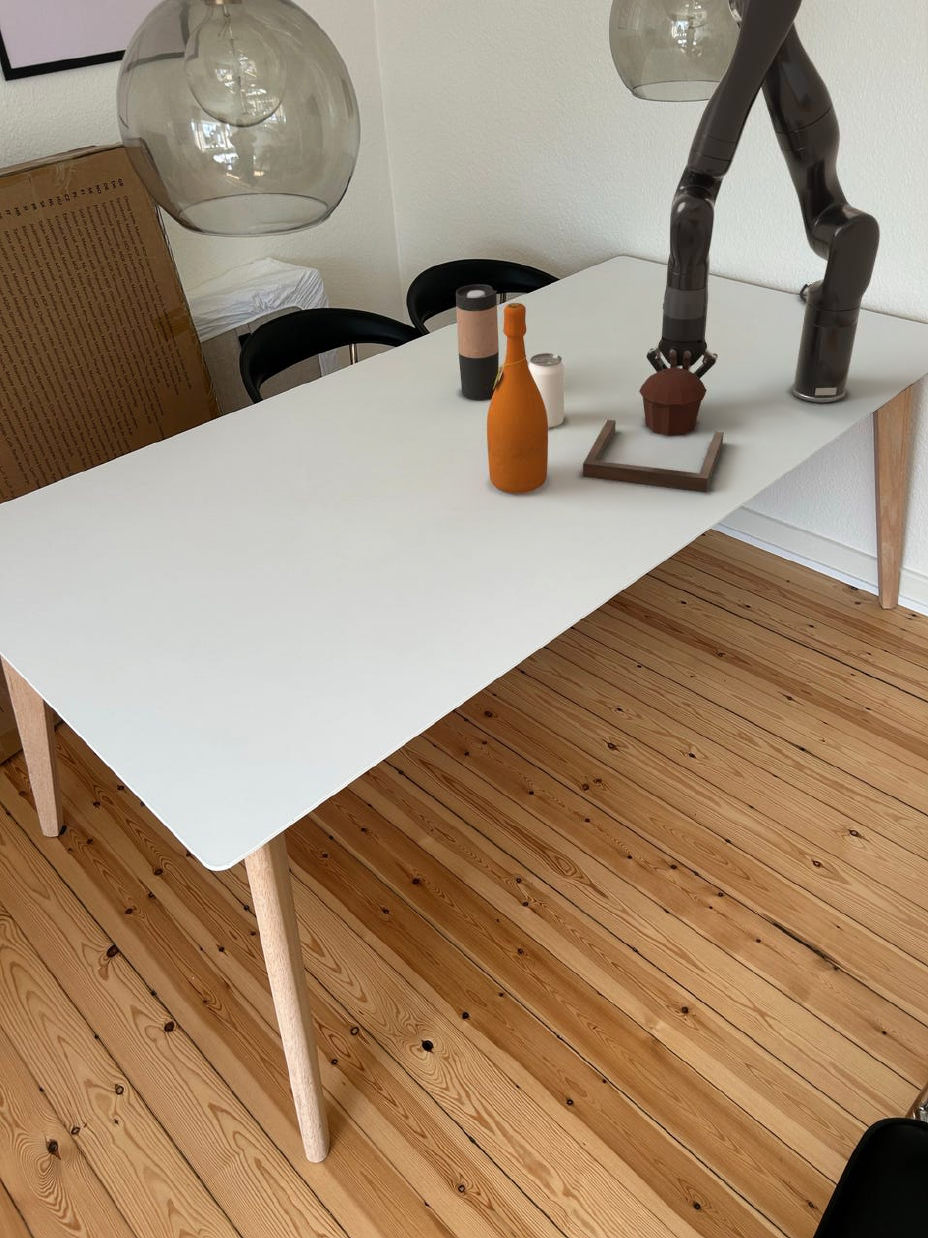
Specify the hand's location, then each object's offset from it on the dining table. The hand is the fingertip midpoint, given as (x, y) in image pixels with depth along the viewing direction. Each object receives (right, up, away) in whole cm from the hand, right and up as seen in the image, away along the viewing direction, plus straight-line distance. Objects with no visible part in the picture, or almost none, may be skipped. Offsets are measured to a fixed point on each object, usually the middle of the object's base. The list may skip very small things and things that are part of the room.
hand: (678, 401), depth 188 cm
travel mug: (-36, +4, +11) cm, 38 cm away
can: (-24, -4, 0) cm, 25 cm away
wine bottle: (-30, -17, -18) cm, 39 cm away
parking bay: (-7, -13, -14) cm, 20 cm away
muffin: (-2, -5, -4) cm, 7 cm away
